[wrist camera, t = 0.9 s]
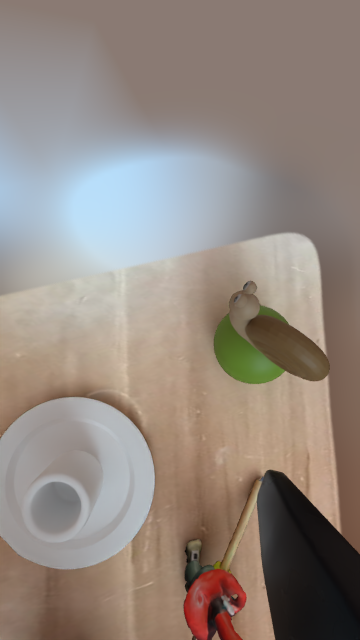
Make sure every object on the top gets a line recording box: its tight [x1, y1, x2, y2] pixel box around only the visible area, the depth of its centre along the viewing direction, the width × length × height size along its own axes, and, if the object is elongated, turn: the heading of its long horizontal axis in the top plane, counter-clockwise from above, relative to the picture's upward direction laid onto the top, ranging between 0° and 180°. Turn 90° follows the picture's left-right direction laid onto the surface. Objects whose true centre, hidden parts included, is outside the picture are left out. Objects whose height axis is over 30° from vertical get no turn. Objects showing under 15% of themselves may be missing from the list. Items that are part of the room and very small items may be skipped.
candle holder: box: [0, 397, 155, 569], centre depth 20 cm, size 12×12×4 cm
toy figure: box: [184, 477, 264, 640], centre depth 21 cm, size 10×4×7 cm
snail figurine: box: [214, 281, 330, 384], centre depth 18 cm, size 5×6×12 cm
